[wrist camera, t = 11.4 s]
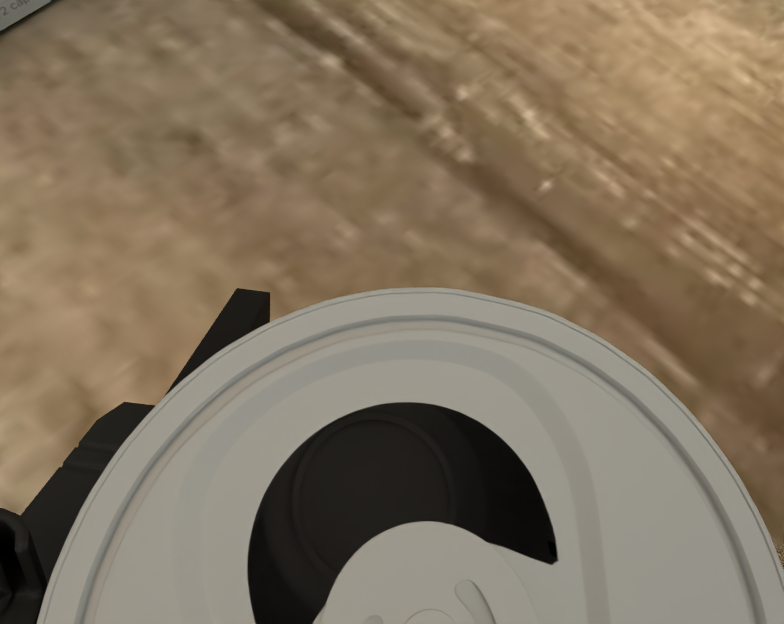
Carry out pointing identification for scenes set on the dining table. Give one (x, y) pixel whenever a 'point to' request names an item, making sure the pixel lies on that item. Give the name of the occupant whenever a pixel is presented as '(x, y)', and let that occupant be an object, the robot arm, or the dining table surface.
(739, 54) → the dining table surface
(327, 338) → the beverage can
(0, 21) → the supplement box
